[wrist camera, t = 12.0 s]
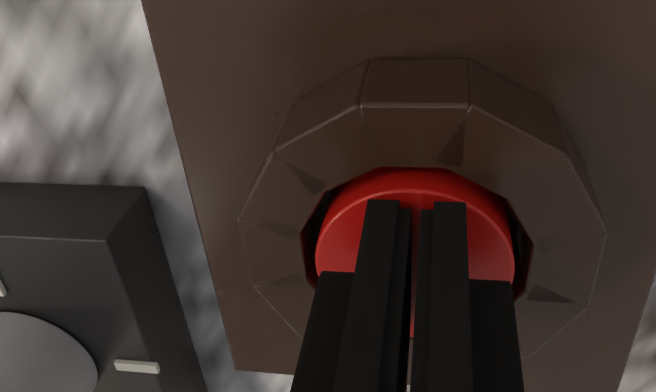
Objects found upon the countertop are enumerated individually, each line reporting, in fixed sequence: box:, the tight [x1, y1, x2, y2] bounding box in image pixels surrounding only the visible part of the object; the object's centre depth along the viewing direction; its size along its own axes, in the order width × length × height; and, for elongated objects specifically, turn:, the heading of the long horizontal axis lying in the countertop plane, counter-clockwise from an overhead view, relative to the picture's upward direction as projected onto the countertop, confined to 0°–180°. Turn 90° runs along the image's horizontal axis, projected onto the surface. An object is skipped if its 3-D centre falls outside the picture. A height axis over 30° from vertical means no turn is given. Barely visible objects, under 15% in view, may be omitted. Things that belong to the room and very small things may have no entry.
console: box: [0, 183, 207, 392], centre depth 20 cm, size 10×8×3 cm
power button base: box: [141, 0, 656, 392], centre depth 13 cm, size 12×10×5 cm
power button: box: [315, 167, 515, 337], centre depth 12 cm, size 4×4×2 cm
